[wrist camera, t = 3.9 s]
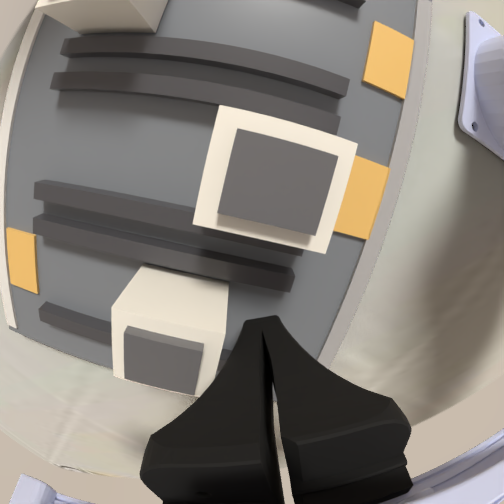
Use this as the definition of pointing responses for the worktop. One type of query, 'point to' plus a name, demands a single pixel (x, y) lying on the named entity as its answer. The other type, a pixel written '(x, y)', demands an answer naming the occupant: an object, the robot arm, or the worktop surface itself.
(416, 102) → the console
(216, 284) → the switch
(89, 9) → the switch
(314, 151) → the switch middle
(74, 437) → the worktop surface
